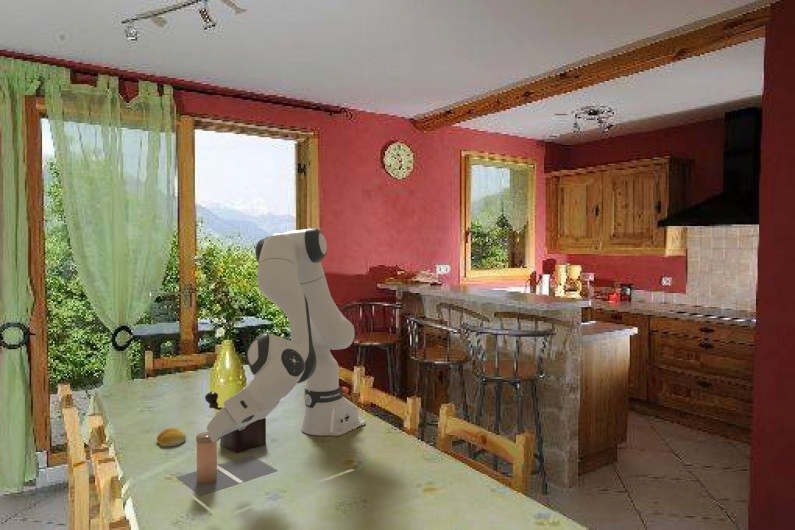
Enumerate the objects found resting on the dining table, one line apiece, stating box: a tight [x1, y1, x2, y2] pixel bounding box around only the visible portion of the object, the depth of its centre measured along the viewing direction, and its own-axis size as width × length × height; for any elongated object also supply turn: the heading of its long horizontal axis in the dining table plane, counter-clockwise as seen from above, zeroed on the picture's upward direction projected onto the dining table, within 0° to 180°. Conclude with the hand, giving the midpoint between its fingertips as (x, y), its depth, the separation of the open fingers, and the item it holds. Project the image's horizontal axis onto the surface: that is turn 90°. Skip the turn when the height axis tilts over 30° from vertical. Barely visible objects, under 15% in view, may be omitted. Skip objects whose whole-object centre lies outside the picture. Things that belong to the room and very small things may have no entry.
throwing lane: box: [175, 454, 279, 497], centre depth 147 cm, size 22×15×1 cm
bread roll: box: [156, 427, 187, 447], centre depth 172 cm, size 8×9×4 cm
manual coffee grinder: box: [204, 391, 267, 454], centre depth 167 cm, size 16×11×18 cm
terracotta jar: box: [195, 431, 218, 485], centre depth 143 cm, size 5×5×12 cm
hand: (226, 433), depth 140 cm, fingers open, 8 cm apart
